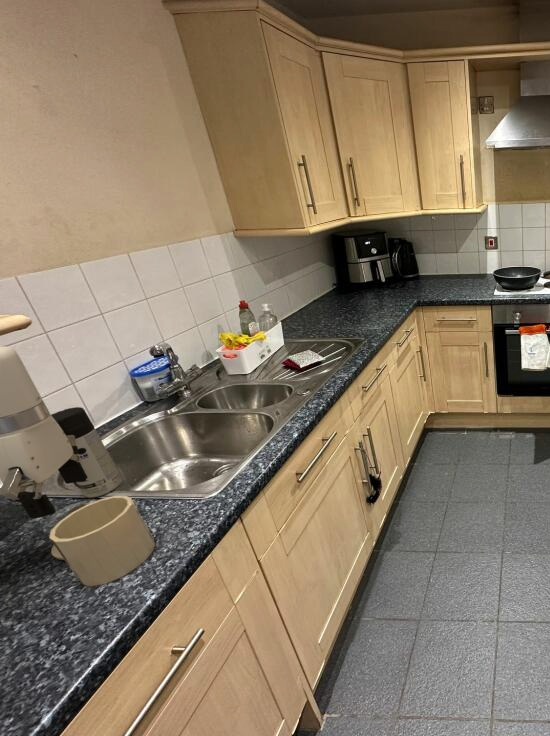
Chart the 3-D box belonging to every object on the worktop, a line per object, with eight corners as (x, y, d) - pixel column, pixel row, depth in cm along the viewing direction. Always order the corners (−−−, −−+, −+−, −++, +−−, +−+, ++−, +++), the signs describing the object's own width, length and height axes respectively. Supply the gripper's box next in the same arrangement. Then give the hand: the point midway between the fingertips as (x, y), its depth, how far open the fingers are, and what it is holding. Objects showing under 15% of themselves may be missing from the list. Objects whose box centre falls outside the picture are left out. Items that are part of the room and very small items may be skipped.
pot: (66, 595, 68) (33, 550, 64) (100, 547, 77) (73, 505, 73) (140, 573, 71) (113, 529, 67) (164, 530, 80) (142, 489, 76)
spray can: (78, 495, 92) (32, 420, 84) (113, 476, 98) (73, 404, 90) (95, 501, 90) (49, 425, 82) (130, 481, 96) (90, 408, 88)
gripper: (23, 400, 76) (65, 474, 82) (-60, 451, 60) (-1, 537, 67) (74, 392, 78) (111, 465, 84) (6, 440, 63) (57, 524, 69)
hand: (61, 497), depth 75 cm, fingers open, 9 cm apart
